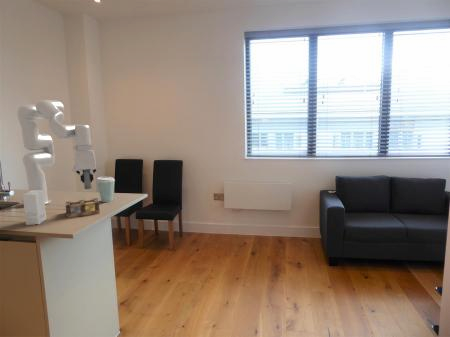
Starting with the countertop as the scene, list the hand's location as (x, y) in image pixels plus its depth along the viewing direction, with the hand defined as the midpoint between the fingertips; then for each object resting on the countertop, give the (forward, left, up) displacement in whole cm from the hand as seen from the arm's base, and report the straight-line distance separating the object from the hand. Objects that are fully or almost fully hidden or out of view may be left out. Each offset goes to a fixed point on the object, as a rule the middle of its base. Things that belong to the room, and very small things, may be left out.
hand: (87, 181), depth 171 cm
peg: (0, 0, -4) cm, 4 cm away
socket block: (-4, 0, -17) cm, 17 cm away
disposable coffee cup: (+11, +21, -17) cm, 29 cm away
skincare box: (-25, -5, -17) cm, 31 cm away
